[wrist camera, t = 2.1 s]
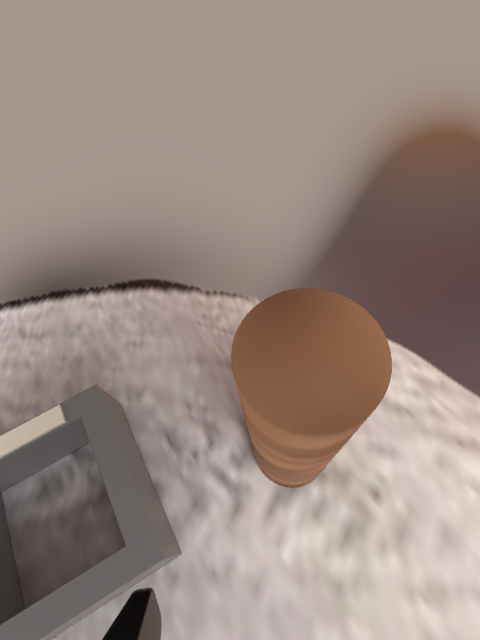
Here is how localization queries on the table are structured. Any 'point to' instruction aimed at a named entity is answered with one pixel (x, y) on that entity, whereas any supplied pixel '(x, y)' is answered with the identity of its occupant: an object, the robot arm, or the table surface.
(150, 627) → the robot arm
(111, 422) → the socket block
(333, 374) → the peg
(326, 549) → the table surface
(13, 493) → the table surface
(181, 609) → the table surface
